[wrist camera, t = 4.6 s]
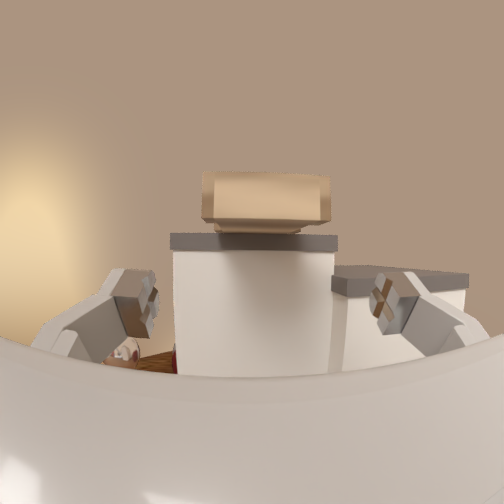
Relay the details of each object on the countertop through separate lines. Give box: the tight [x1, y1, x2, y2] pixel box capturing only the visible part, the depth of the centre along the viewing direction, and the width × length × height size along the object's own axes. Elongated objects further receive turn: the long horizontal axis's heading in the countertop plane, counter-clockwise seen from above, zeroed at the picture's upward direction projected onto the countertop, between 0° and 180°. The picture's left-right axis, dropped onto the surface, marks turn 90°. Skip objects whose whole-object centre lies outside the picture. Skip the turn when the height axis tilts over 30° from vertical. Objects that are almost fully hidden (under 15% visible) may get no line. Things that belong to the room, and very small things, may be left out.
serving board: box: [201, 172, 331, 234], centre depth 22 cm, size 22×6×5 cm, turn 3°
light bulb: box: [103, 337, 140, 369], centre depth 38 cm, size 7×7×12 cm
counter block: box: [170, 233, 469, 377], centre depth 27 cm, size 20×24×26 cm
